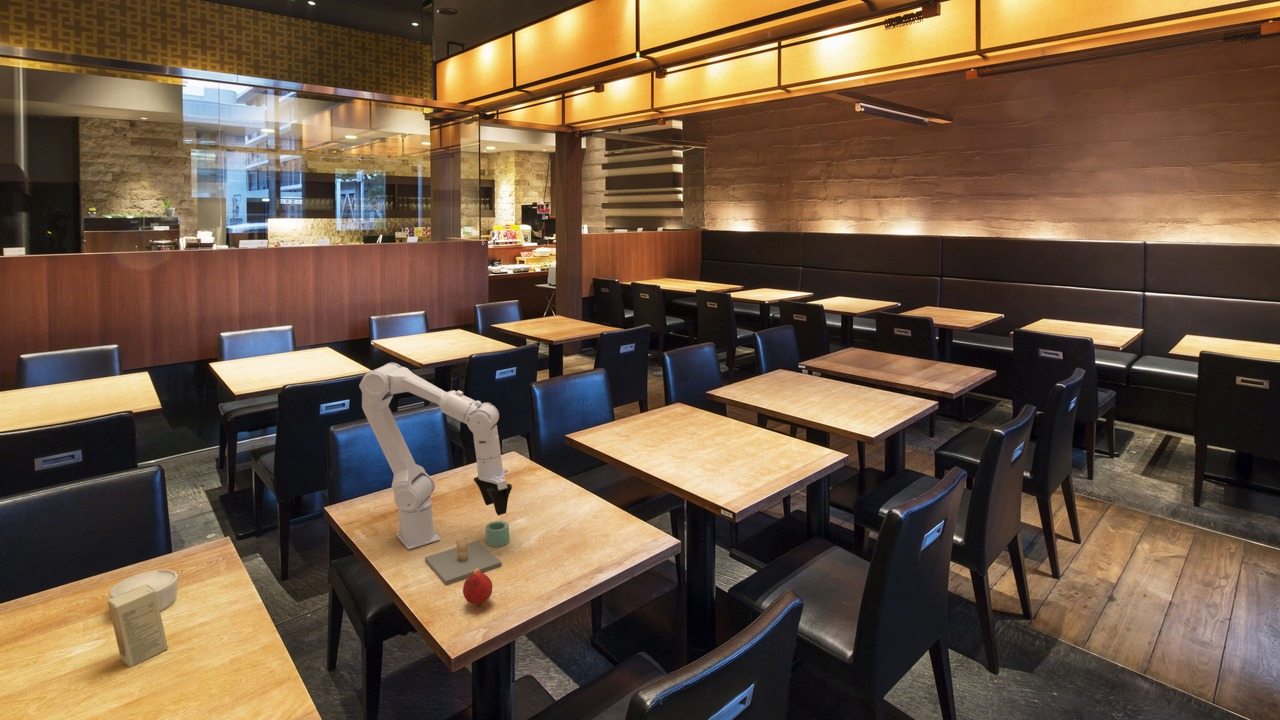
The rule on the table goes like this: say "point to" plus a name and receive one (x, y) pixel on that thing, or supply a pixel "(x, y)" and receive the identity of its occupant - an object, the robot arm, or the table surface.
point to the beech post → (462, 549)
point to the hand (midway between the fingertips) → (495, 508)
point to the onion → (477, 588)
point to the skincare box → (137, 624)
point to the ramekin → (151, 585)
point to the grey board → (462, 563)
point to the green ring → (497, 533)
